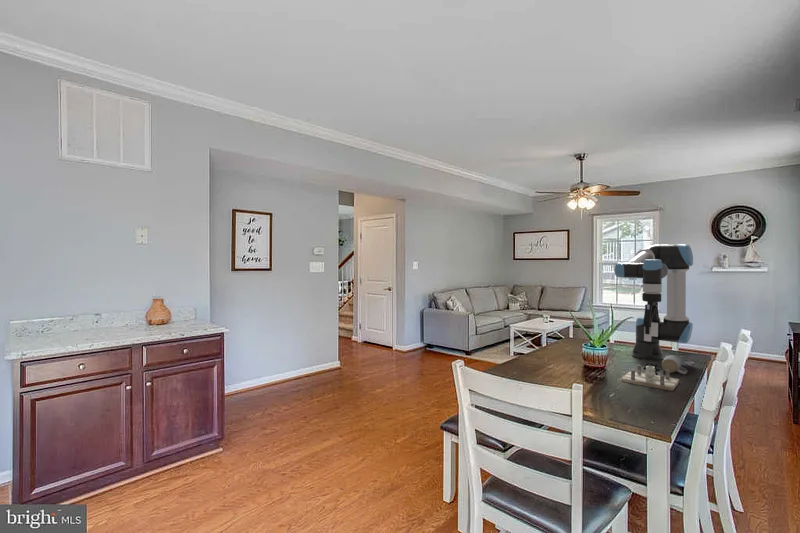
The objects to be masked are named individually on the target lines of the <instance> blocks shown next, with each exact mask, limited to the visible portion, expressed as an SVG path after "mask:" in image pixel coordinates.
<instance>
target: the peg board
mask: <svg viewBox="0 0 800 533" xmlns="http://www.w3.org/2000/svg"><path fill="white" fill-rule="evenodd" d="M636 367H637V371H636V370H635V369H631V370H630V371H629V372H627V373H626V374H625V375H623V376H622V377H621V382H623V383H628V384H633V385H639V386H644V387H650V388H655V389H659V390H666V391H670V392H673V391H674V389H676V387H677V386H678V385H679V383H680V378H679V379H678V378H673V377H670V376H671V375H670V374H671V373H670V370H667V369H666V371H665V374H664V375H663V374H659V375H656V376H655V380H654V382H647V381H646V376H645V372H642V365H640V364H637V366H636Z"/></svg>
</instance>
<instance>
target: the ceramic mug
mask: <svg viewBox="0 0 800 533" xmlns="http://www.w3.org/2000/svg"><path fill="white" fill-rule="evenodd" d="M661 368H662V369H663V371H664V372H666V369H667V370H670V374H675V373H676V372H678V373H679V374H682V375H686V374H688V370H687V368H685V367H683V366H682V361H681V359H679V357H677V356H675V355H674V354H669V355H666V356H664V357H663V359H662V361H661Z"/></svg>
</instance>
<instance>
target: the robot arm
mask: <svg viewBox="0 0 800 533" xmlns="http://www.w3.org/2000/svg"><path fill="white" fill-rule="evenodd" d="M693 265H694V256H693V251H692V248H691V246H690V245H689V244H687V243H664V244H661V243H659V244H652V245H651V244H650V245H649V246H646V247H643V248H641V249H639V250H638V251H637V252H636V253H635V255H634V256H633V257H632V258H630V259H629V260H627V261H626V262H617V263H615V265H614V276H616V277H617V278H622V279H626V278H627V279H642V284H641V286H640V287H641V288H642V294H641V295H642V296H641V298H642V301H643V302H646V303H647V304H645V305H644V315H643V316H641V317H637V318H636V321H635V343H634V345H633V348H632V350H631V356H633V357H635V358H637V359H643V360H649V361H658V360H659V361H660V360H663V359H664V357H663V356H664V355H663V352H662V349H661V346H660V341H662V342H663V341H664V342H670V343H677V344H680V343H681V344H687V343H689V342H690V340H691V337H692V332H693V328H694V327H693V325H694V324H693V323H692V322H690V318H689V317H688V316H687V315H686V308H687V306H686V305H687V304H686V299H687V298H686V296H687V295H686V294H687V293H686V291H687V289H686V288H687V286H686V285H687V284H686V282H687V278H686V277H687V274H686V273H687V271H689V270H690V267H692V266H693ZM663 278H666V315H664V316H663V319H661V318H660V315H659V314H660V313H659V303H661V302H662V294H661V293H662V292H663V291H662V290H663V285H662V284H663V283H662V280H663Z"/></svg>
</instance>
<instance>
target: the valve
mask: <svg viewBox="0 0 800 533" xmlns="http://www.w3.org/2000/svg"><path fill="white" fill-rule="evenodd" d="M658 367H659V365H658V364H654V362H653V361H651V362H650V363H648V362H647V363H646V362H645V366H644V367H643V370H645V371H644V373H645V376H646V381H647V382H654V380H655V376H656V375H657V376H659V375H658V372H660V371H661V369H659V368H658Z"/></svg>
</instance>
